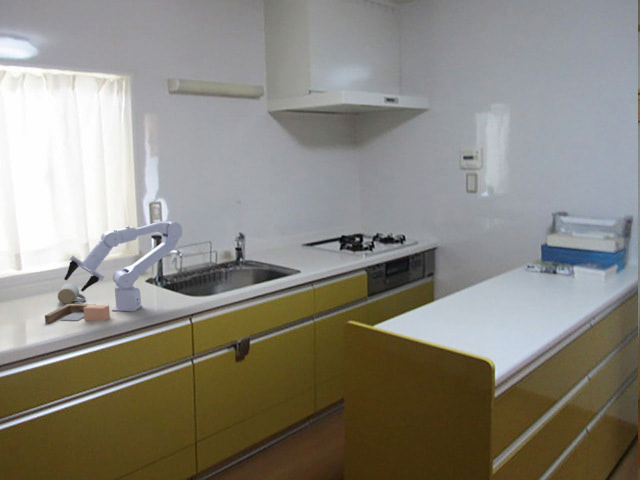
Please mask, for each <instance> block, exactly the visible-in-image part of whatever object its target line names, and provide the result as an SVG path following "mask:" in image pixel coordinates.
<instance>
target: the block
mask: <svg viewBox="0 0 640 480" xmlns="http://www.w3.org/2000/svg"><path fill="white" fill-rule="evenodd" d="M110 315H111V313H110V305H109V304H96V305H88V306H86V307H85V308H84V318H83V319H84V321H94V320H98V321H99V322H101V321H102V322H104V320H105V321H106V320H107V319H109V318H110V317H111V316H110Z"/></svg>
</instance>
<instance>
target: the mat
mask: <svg viewBox="0 0 640 480" xmlns="http://www.w3.org/2000/svg"><path fill="white" fill-rule="evenodd" d="M82 319H84V312H73V313H69V314H67V315H65V316H63V317H61V318H60V321H63V322H64V321H65V322H67V321H68V322H79V321H81V320H82Z"/></svg>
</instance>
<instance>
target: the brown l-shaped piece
mask: <svg viewBox="0 0 640 480" xmlns="http://www.w3.org/2000/svg"><path fill="white" fill-rule="evenodd" d="M88 305H97V304H96V303H95V304H93V303H91V304H88V303H70V304H64V305H63V306H61V307H59V308H57V309H55V310H53V311H51V312H49V313H47V314H45V315H44V321H45V324H51V323H53V322H56V321H57V320H60V319H62V318H64V317H66V316H68V315H69V314H72V313H73V312H84V308H85V307H86V306H88Z"/></svg>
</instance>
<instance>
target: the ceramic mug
mask: <svg viewBox="0 0 640 480" xmlns="http://www.w3.org/2000/svg"><path fill="white" fill-rule="evenodd" d="M57 299H58V301H59V302H60V303H61V304H63V305H66V304H73V302H78V303H84V302H85V301H86V299H87V297H86V296H85V295H83V294H81V293H80V289H79V287H78V286H77V285H76V284H74V283H73V282H69V283H64V284H63V285H62V286H61V288H60V289H59V291H58V293H57Z"/></svg>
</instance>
